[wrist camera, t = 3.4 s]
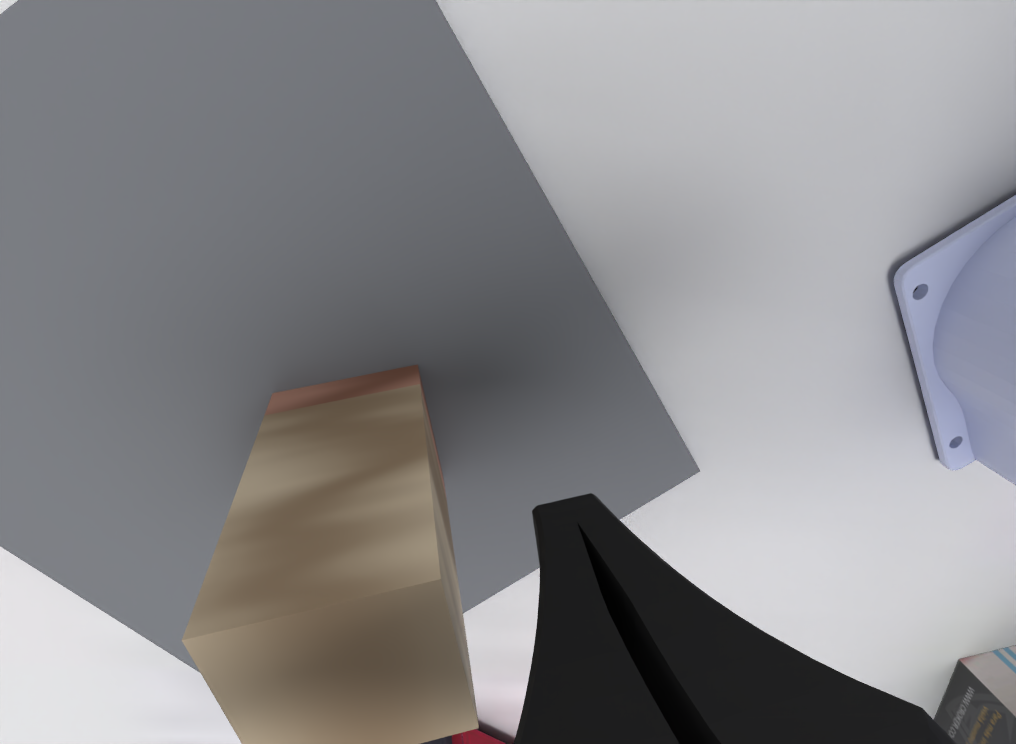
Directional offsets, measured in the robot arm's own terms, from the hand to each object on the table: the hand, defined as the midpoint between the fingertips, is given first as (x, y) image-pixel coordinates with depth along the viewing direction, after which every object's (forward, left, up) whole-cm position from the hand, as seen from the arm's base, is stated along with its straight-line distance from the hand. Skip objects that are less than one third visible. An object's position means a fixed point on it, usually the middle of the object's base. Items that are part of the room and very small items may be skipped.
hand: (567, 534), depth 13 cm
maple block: (+2, +4, -6) cm, 7 cm away
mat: (+4, +5, -6) cm, 9 cm away
